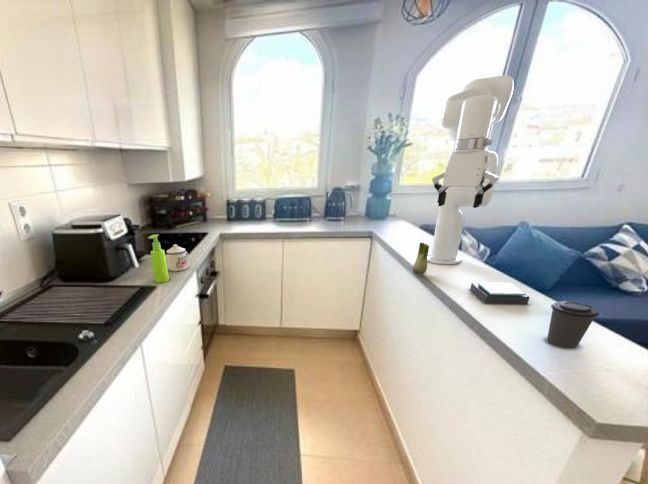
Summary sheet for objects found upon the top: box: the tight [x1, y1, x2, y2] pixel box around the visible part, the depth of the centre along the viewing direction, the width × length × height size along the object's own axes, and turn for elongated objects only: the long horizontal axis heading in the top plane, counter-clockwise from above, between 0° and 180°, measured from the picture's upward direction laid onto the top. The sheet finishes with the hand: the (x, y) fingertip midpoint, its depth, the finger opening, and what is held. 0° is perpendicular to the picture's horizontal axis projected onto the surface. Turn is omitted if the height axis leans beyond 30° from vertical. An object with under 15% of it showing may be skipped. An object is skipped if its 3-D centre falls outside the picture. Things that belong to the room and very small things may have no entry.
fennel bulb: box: [412, 242, 430, 275], centre depth 131 cm, size 6×5×12 cm
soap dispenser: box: [147, 234, 170, 284], centre depth 146 cm, size 6×7×20 cm
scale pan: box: [477, 282, 527, 295], centre depth 107 cm, size 10×9×1 cm
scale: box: [469, 281, 530, 306], centre depth 108 cm, size 12×11×3 cm
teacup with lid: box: [165, 243, 189, 272], centre depth 163 cm, size 12×9×12 cm
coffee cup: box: [546, 301, 600, 350], centre depth 80 cm, size 8×8×10 cm
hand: (458, 206), depth 107 cm, fingers open, 9 cm apart
